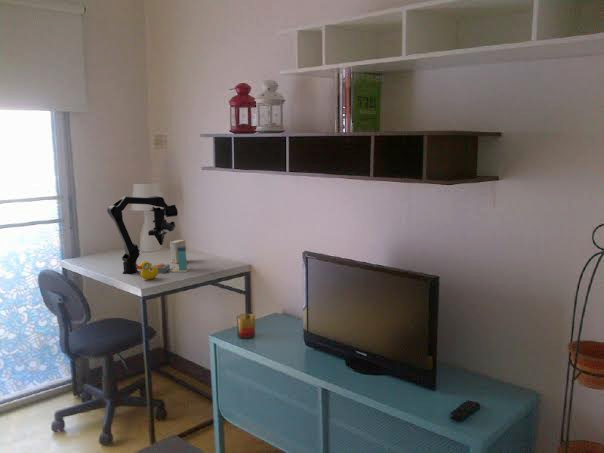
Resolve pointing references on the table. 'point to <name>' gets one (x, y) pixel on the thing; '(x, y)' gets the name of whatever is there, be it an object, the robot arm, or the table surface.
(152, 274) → the duckling
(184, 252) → the teal cylinder
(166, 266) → the button housing
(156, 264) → the button
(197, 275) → the table surface
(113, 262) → the table surface
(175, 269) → the sketchbook
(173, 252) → the supplement box
